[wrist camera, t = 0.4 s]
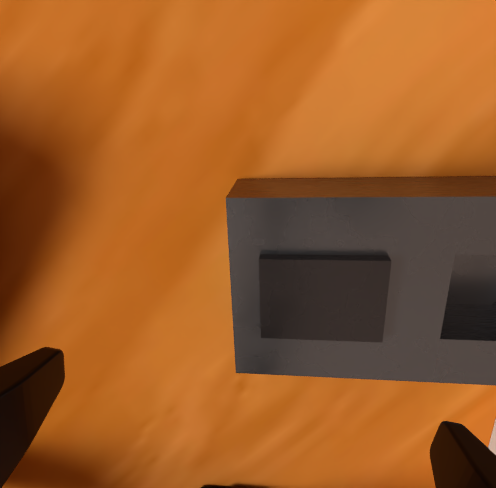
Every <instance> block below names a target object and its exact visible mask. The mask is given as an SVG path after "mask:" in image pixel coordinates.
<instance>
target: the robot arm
mask: <svg viewBox="0 0 496 488" xmlns="http://www.w3.org/2000/svg"><path fill="white" fill-rule="evenodd" d="M64 379H65V370H64V355H63V352H62V350H60V349H55V348H50V347H44V348H41V349H39V350H37V351H34V352H32V353H30V354H28V355H26V356H23V357H21V358H19V359H17V360H14V361H12V362H10V363H8V364H6V365H3V366H1V367H0V488H2V486H3V485H4V483H5V482H6V481H7V479H8V478H9V476H10V475H11V473H12V472H13V470H14V469H15V467H16V466H17V464H18V463H19V461H20V460H21V458H22V457H23V455H24V454H25V452H26V451H27V449H28V448H29V446H30V444H31V443H32V441H33V439H34V437H35V436H36V434H37V432H38V430H39V428H40V427H41V425H42V423H43V421H44V419H45V417H46V416H47V414H48V412H49V410H50V408H51V406H52V405H53V403H54V401H55V399H56V397H57V395H58V394H59V392H60V390H61V388H62V386H63V383H64ZM430 459H431V465H432V470H433V475H434V480H435V486H436V488H496V455H495V454H494V453H493V452H492V451H491V450H490V449H489V448H487V447H486V446H485V445H484V444H483V443H482V442H481V441H480V440H479V439H478V438H477V437H476V436H474V435H473V434H472V433H471V432H470V431H469V430H468V429H467V428H466V427H465V426H463V425H462V424H459V423H454V422H448V421H443V422H442V423H441V424H440V426H439V428H438V430H437V432H436V435H435V437H434V440H433V442H432V444H431V447H430ZM201 488H214V487H201Z"/></svg>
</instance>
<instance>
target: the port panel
mask: <svg viewBox="0 0 496 488" xmlns="http://www.w3.org/2000/svg"><path fill="white" fill-rule="evenodd" d="M226 209H227V226H228V244H229V261H230V278H231V295H232V312H233V330H234V347H235V364H236V373H250V374H271V375H292V376H313V377H334V378H355V379H375V380H396V381H417V382H438V383H459V384H479V385H496V176H465V177H373V178H281V179H237V181H236V182H235V184H234V186H233V187H232V189H231V190H230V192H229V194H228V195H227V197H226Z"/></svg>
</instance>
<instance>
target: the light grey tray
mask: <svg viewBox="0 0 496 488" xmlns="http://www.w3.org/2000/svg"><path fill="white" fill-rule="evenodd" d="M488 448H489V449H490V450H491V451H492V452H493V453H494V454H495V455H496V420H495V424H494V428H493V432H492V435H491V439H490V443H489V447H488Z"/></svg>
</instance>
